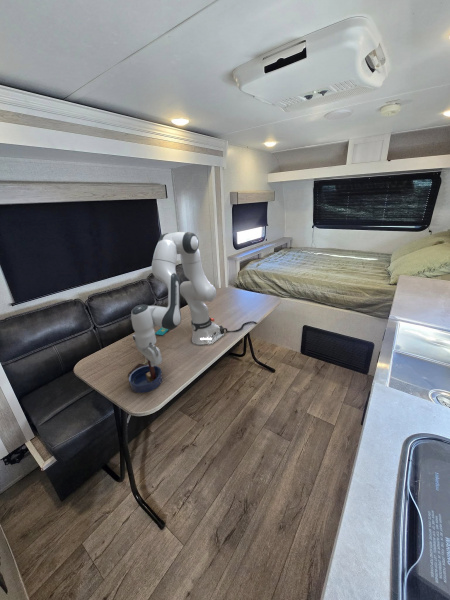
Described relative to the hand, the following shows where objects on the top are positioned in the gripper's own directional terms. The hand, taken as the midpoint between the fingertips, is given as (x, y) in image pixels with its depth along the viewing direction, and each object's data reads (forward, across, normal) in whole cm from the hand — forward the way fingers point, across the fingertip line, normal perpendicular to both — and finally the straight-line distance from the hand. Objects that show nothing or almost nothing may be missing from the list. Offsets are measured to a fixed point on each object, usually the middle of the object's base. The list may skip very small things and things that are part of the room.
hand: (151, 364), depth 115 cm
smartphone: (+12, +47, -31) cm, 57 cm away
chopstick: (+8, 0, 0) cm, 8 cm away
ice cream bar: (+12, +17, 0) cm, 21 cm away
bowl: (+12, +4, +2) cm, 13 cm away
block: (+11, +4, 0) cm, 12 cm away
